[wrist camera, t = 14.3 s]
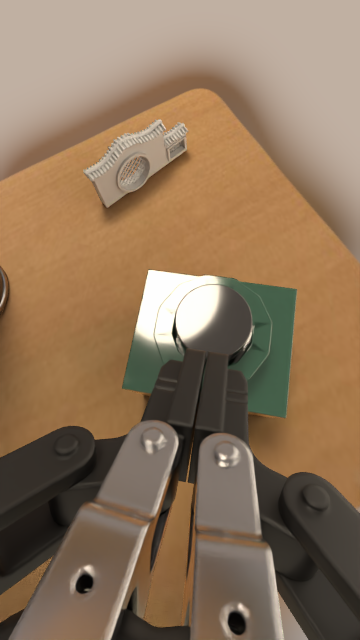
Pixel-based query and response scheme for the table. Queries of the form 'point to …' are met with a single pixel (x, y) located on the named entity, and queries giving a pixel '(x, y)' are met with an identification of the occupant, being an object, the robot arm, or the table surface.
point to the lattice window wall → (153, 157)
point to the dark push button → (213, 320)
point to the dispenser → (253, 360)
